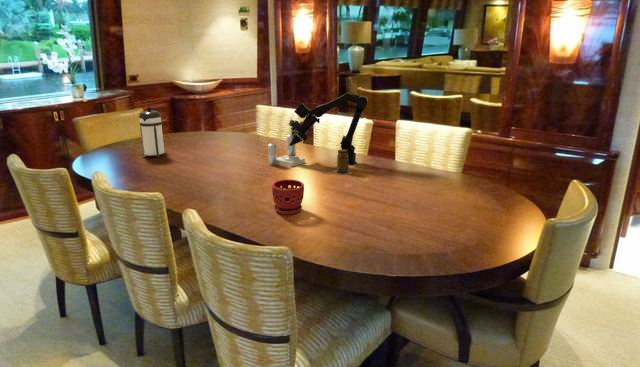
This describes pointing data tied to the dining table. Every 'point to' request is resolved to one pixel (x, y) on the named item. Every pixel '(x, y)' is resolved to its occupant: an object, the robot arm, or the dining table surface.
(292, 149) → the shiny silver cylinder
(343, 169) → the condiment
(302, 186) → the plant pot
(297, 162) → the scale
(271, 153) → the cylinder
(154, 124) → the coffee press
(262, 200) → the dining table surface
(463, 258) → the dining table surface
